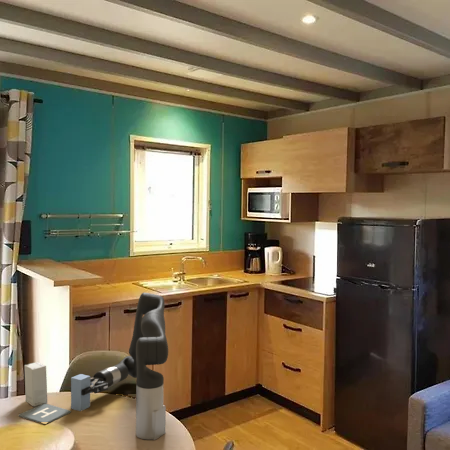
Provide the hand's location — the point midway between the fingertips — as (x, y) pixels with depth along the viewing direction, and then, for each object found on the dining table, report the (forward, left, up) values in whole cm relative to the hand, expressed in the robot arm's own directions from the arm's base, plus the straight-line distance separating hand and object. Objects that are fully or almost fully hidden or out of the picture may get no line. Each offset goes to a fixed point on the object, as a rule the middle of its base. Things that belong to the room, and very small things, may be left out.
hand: (76, 391), depth 181 cm
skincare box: (+19, +3, -7) cm, 21 cm away
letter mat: (+7, +9, -7) cm, 13 cm away
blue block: (0, -2, -7) cm, 7 cm away
